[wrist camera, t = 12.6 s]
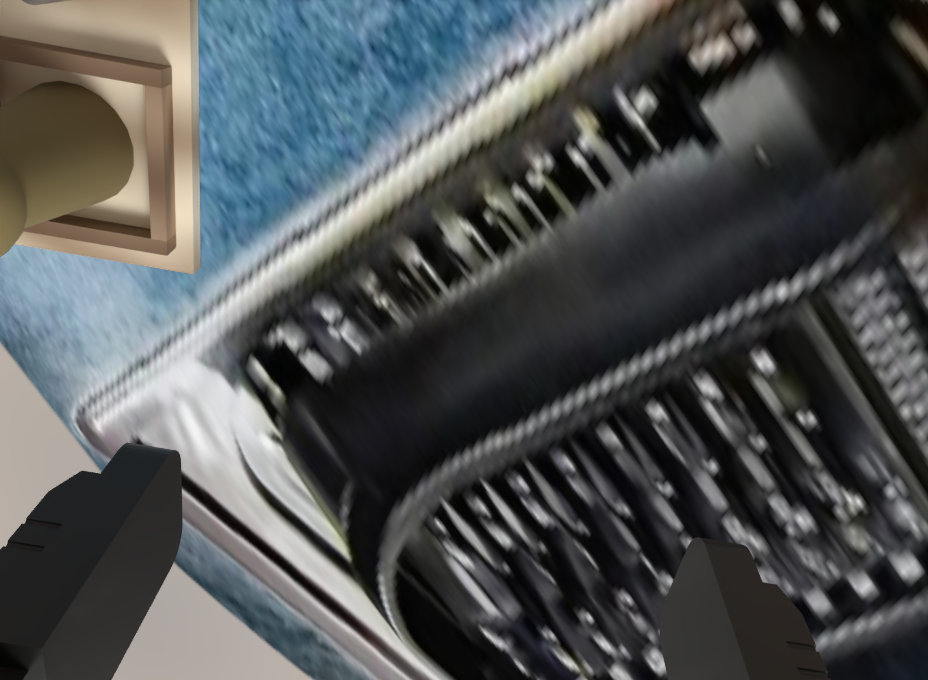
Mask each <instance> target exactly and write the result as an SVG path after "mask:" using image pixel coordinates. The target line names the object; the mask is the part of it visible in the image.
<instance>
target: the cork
mask: <svg viewBox="0 0 928 680" xmlns="http://www.w3.org/2000/svg"><path fill="white" fill-rule="evenodd" d="M133 167H134V148H133V145H132V142H131V139H130V136H129V132H128V129H127V127H126V126H125V124H124V123H123V121H122V120H121V118H120V117H119V115H118V114H117V112H116V110H114V109H113V108H112V107H111V106H110V105H109V104H108V103H107V102H106V101H105V100H104V99H103V98H102V97H100V96H99V95H98V94H96V93H94V92H92V91H90V90H88V89H86V88H85V87H83V86H81V85H77V84H73V83H68V82H64V81H54V82H45V83H41V84H39V85H37V86H35V87H33V88H31V89H29V90H28V91H26V92H24V93H23V94H21V95H19V96H18V97H16V98H14V99H13V100H11V101H10V102H8V103H6V104H5V105H3V106H1V107H0V257H1V256H2V255H4V254H5V253H7V252H8V251H9V250H10V248H11V247H12V246H13V245H14V244H15V242H16V241H17V240H18V239H19V237H20V236H21V234H22V233H23V230H24V229H25V228H28V227H31V226H34V225H36V224H39V223H42V222H45V221H48V220H51V219H54V218H57V217H60V216H62V215H65V214H68V213H71V212H74V211H77V210H80V209H83V208H86V207H88V206H91V205H94V204H97V203H100V202H103V201H105V200H107V199H109V198H111V197H113V196H115V195H117V194H118V193H119V192H120V191H121V190H122V189H123V188H124V186H125V185H126V184H127V183H128V181H129V178H130V176H131V173H132V170H133Z"/></svg>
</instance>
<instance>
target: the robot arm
mask: <svg viewBox="0 0 928 680" xmlns="http://www.w3.org/2000/svg"><path fill="white" fill-rule="evenodd" d="M181 534H182V485H181V458H180V454H179V452H178V451H176V450H170V449H163V448H157V447H151V446H145V445H139V444H133V443H126V444H124V445H123V446H122V447H121V448H120V449H119V450H118V451H117V453H116V454H115V455H114V457H113V458H112V459H111V461H110V462H109V463H108V465H107V466H106V467H105V469H104V470H103V471H102V472H101V474H99V473H93V472H87V471H81V472H79V473H78V474H76V475H74V476H73V477H71V478H69V479H68V480H66V481H65V482H63V483H62V484H60V485H58V486H57V487H55V488H53V489H52V490H50V491H49V492H48V493H47V494H46V495H45V496H44V498H43V499H42V500H41V501H40V502H39V504H38V505H37V506H36V507H35V508H34V510H33V511H32V512H31V513H30V515H29V516H28V517H27V518H26V522H25V524H21V525H20V527H19V528H18V529H17V530H16V531H15V533H14V534H13V535H12V536H11V537H10V539H9V540H8V544H7V546H6V547H2V548H1V549H0V680H111V679H112V678H113V676H114V673H115V672H116V670H117V668H118V666H119V664H120V663H121V660H122V659H123V657H124V655H125V653H126V651H127V649H128V648H129V646H130V644H131V642H132V640H133V638H134V636H135V634H136V633H137V631H138V629H139V626H140V625H141V623H142V621H143V619H144V618H145V616H146V614H147V612H148V610H149V608H150V606H151V604H152V603H153V601H154V599H155V597H156V595H157V593H158V591H159V589H160V588H161V586H162V584H163V582H164V580H165V578H166V576H167V574H168V572H169V571H170V569H171V567H172V565H173V562H174V560H175V557H176V555H177V551H178V548H179V544H180V540H181ZM660 642H661V648H662V653H663V657H664V662H665V666H666V671H667V675H668V680H831V679H829V678H827V669H826V667H825V665H824V663H823V660H822V658H821V656H820V654H819V652H816V650H815V647H816V645H815V642H814V640H813V638H812V636H811V633H810V631H809V629H808V627H807V624H806V622H805V620H804V618H803V615H802V614H801V612H800V611H799V610H798V609H797V608H796V607H795V605H794V604H793V603H792V602H791V601H790V600H789V598H788V597H787V596H786V595H785V594H784V593H783V591H782V590H781V589H780V588H779V587H778V586H777V585H775V584H769V583H763V582H762V580H761V577H760V575H759V572H758V570H757V567H756V565H755V562H754V560H753V557H752V555H751V553H750V551H749V549H748V548H747V547H746V546H744V545H741V544H735V543H729V542H723V541H716V540H710V539H704V538H694V539H693V540H692V541H691V542H690V544H689V546H688V548H687V550H686V553H685V555H684V557H683V560H682V562H681V564H680V567H679V569H678V571H677V574H676V576H675V579H674V581H673V583H672V586H671V588H670V590H669V593H668V595H667V597H666V600H665V602H664V605H663V608H662V613H661V619H660Z"/></svg>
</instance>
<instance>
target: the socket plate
mask: <svg viewBox="0 0 928 680" xmlns="http://www.w3.org/2000/svg"><path fill="white" fill-rule="evenodd" d="M54 81H64V82H68V83H73V84H77V85H81V86H83V87H85V88H86V89H88V90H90V91H92V92H94V93H96V94H98V95H99V96H100V97H102V98H103V99H104V100H105V101H106V102H107V103H108V104H109V105H110V106H111V107H112V108H113V109H114V110H116V112H117V114H118V115H119V117H120V118H121V120H122V121H123V123H124V124H125V126H126V127H127V129H128V132H129V136H130V139H131V142H132V145H133V148H134V167H133V170H132V173H131V176H130V178H129V181H128V183H127V184H126V185H125V186H124V188H123V189H122V190H121V191H120V192H119V193H118V194H117V195H115V196H113V197H111V198H109V199H107V200H105V201H103V202H100V203H97V204H94V205H91V206H88V207H86V208H83V209H80V210H77V211H74V212H71V213H68V214H65V215H62V216H60V217H57V218H54V219H51V220H48V221H45V222H42V223H39V224H36V225H34V226H31V227H28V228H25V229H24V230H23V233H22V234H21V236H20V237H19V239H18V240H17V241H16V242H15V244H18V245H24V246H30V247H36V248H42V249H48V250H54V251H59V252H65V253H71V254H77V255H83V256H89V257H95V258H101V259H107V260H113V261H119V262H124V263H130V264H136V265H142V266H148V267H154V268H160V269H166V270H172V271H178V272H183V273H189V274H194V273H195V272H196V271H197V270H198V269H199V268H200V162H199V52H198V0H0V107H1V106H3V105H5V104H6V103H8V102H10V101H11V100H13V99H14V98H16V97H18V96H19V95H21V94H23V93H24V92H26V91H28V90H29V89H31V88H33V87H35V86H37V85H39V84H41V83H45V82H54Z"/></svg>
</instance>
